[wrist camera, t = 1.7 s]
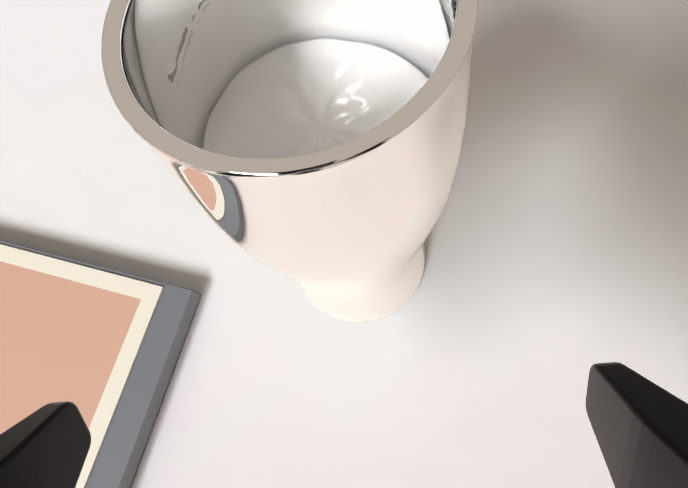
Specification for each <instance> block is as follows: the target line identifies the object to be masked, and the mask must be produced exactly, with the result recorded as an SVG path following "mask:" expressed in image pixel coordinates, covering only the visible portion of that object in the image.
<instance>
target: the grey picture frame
mask: <svg viewBox="0 0 688 488" xmlns="http://www.w3.org/2000/svg"><path fill="white" fill-rule="evenodd" d="M200 296H201V295H200V294H198V293H196V292H194V291H192V290H189V289H185V288H181V287H177V286H173V285H170V284H166V283H162V282H158V281H154V280H150V279H147V278H143V277H139V276H135V275H131V274H127V273H124V272H120V271H116V270H112V269H108V268H104V267H101V266H97V265H93V264H89V263H85V262H81V261H77V260H74V259H70V258H66V257H62V256H58V255H54V254H51V253H47V252H43V251H39V250H35V249H31V248H28V247H24V246H20V245H16V244H12V243H8V242H5V241H1V240H0V434H1V433H3V432H5V431H6V430H8V429H9V428H11V427H12V426H14V425H15V424H17V423H18V422H20V421H21V420H23V419H24V418H26V417H27V416H29V415H30V414H32V413H34V412H35V411H37V410H38V409H40V408H41V407H43V406H44V405H46V404H48V403H52V402H65V401H69V402H73V403H74V404H75V405H76V406H77V407H78V409H79V411H80V413H81V415H82V417H83V419H84V421H85V423H86V425H87V427H88V429H89V431H90V434H91V445H90V449H89V451H88V454H87V457H86V460H85V462H84V465H83V468H82V471H81V473H80V476H79V479H78V482H77V484H76V487H75V488H130V487H131V484H132V482H133V479H134V476H135V473H136V471H137V468H138V465H139V463H140V460H141V457H142V454H143V452H144V449H145V446H146V443H147V441H148V438H149V435H150V433H151V430H152V427H153V424H154V422H155V419H156V416H157V414H158V411H159V408H160V405H161V403H162V400H163V397H164V394H165V392H166V389H167V386H168V384H169V381H170V378H171V375H172V373H173V370H174V367H175V364H176V362H177V359H178V356H179V354H180V351H181V348H182V345H183V343H184V340H185V337H186V335H187V332H188V329H189V326H190V324H191V321H192V318H193V315H194V313H195V310H196V307H197V305H198V302H199V299H200Z"/></svg>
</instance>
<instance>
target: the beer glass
mask: <svg viewBox="0 0 688 488" xmlns="http://www.w3.org/2000/svg"><path fill="white" fill-rule="evenodd" d="M477 14H478V0H111V1H110V4H109V7H108V10H107V13H106V17H105V21H104V26H103V32H102V46H101V52H102V65H103V71H104V76H105V80H106V84H107V87H108V89H109V92H110V94H111V97H112V99H113V101H114V103H115V105H116V107H117V108H118V110H119V112H120V113H121V115H122V116H123V118H124V119H125V120H126V122H127V123H128V124H129V125H130V127H131V128H132V129H133V130H134V131H135V132H136V133H137V134H138V135H139V136H140V137H141V138H142V139H143V140H144V141H146V142H147V144H148V145H149V146H150V147H151V149H152V150H153V151H154V152H155V154H156V155H157V156H158V158H159V159H160V160H161V162H162V163H163V164H164V165H165V167H166V168H167V169H168V171H169V172H170V173H171V175H172V176H173V177H174V179H175V180H176V181H177V182H178V183H179V185H180V186H181V187H182V188H183V190H184V191H185V192H186V193H187V195H188V196H189V197H190V198H191V199H192V201H193V202H194V203H195V204H196V205H197V206H198V207H199V209H200V210H201V211H202V212H203V213H204V214H205V215H206V216H207V217H208V218H209V219H210V220H211V221H212V222H213V223H214V224H215V225H216V227H217V228H218V229H219V230H220V231H221V232H222V233H223V234H224V235H226V236H227V237H228V238H229V239H230V240H232V241H233V242H234V243H235V244H236V245H238V246H239V247H240V248H241V249H242V250H244V251H245V252H246V253H247V254H249V255H250V256H251V257H253V258H254V259H255V260H257V261H259V262H260V263H262V264H264V265H265V266H267V267H269V268H271V269H273V270H275V271H277V272H279V273H281V274H283V275H285V276H287V277H289V278H292V279H294V280H297V281H299V283H300V286H301V288H302V290H303V292H304V293H305V295H306V296H307V298H308V299H309V300H310V301H311V303H312V304H313V305H314V306H315V307H316V308H318V309H319V310H320V311H322V312H323V313H325V314H326V315H328V316H330V317H332V318H335V319H338V320H341V321H345V322H351V323H366V322H372V321H376V320H380V319H382V318H385V317H387V316H389V315H391V314H393V313H395V312H396V311H398V310H399V309H400V308H401V307H403V306H404V305H405V304H406V303H407V302H408V301H409V300H410V298H411V297H412V296H413V294H414V293H415V291H416V290H417V288H418V286H419V284H420V281H421V279H422V276H423V271H424V265H425V252H424V246H423V242H424V241H425V239H426V238H427V236H428V235H429V233H430V232H431V230H432V228H433V226H434V225H435V223H436V221H437V219H438V217H439V216H440V214H441V212H442V210H443V208H444V206H445V204H446V201H447V199H448V196H449V193H450V190H451V187H452V183H453V180H454V177H455V173H456V170H457V167H458V163H459V159H460V154H461V148H462V142H463V136H464V130H465V124H466V115H467V105H468V94H469V83H470V67H471V50H472V39H473V36H474V32H475V27H476V22H477Z"/></svg>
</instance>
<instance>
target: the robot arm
mask: <svg viewBox="0 0 688 488" xmlns="http://www.w3.org/2000/svg"><path fill="white" fill-rule="evenodd" d="M586 410H587V414H588V417H589V420H590V422H591V425H592V428H593V430H594V433H595V435H596V438H597V441H598V443H599V446H600V449H601V451H602V454H603V456H604V459H605V462H606V464H607V467H608V470H609V472H610V475H611V477H612V480H613V483H614V485H615V488H688V404H687V403H686V402H684V401H682V400H681V399H679V398H677V397H676V396H674V395H672V394H671V393H669V392H668V391H666V390H664V389H663V388H661V387H659V386H658V385H656V384H654V383H653V382H651V381H650V380H648V379H646V378H645V377H643V376H641V375H640V374H638V373H636V372H635V371H633V370H632V369H630V368H628V367H627V366H625V365H623V364H621V363H617V362H611V363H597V364H594V365H592V367H591V368H590V372H589V380H588V387H587V395H586ZM90 445H91V434H90V431H89V429H88V427H87V425H86V423H85V421H84V419H83V417H82V415H81V413H80V411H79V409H78V407H77V406H76V405H75V404H74V403H73V402H69V401H65V402H52V403H48V404H46V405H44V406H43V407H41V408H40V409H38V410H37V411H35V412H34V413H32V414H30V415H29V416H27V417H26V418H24V419H23V420H21V421H20V422H18V423H17V424H15V425H14V426H12V427H11V428H9V429H8V430H6V431H5V432H3V433H1V434H0V488H75V487H76V484H77V482H78V479H79V476H80V473H81V471H82V468H83V465H84V462H85V460H86V457H87V454H88V451H89V449H90Z"/></svg>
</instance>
